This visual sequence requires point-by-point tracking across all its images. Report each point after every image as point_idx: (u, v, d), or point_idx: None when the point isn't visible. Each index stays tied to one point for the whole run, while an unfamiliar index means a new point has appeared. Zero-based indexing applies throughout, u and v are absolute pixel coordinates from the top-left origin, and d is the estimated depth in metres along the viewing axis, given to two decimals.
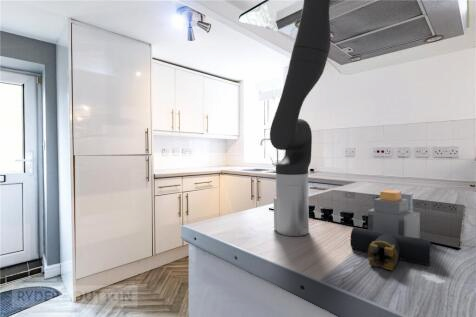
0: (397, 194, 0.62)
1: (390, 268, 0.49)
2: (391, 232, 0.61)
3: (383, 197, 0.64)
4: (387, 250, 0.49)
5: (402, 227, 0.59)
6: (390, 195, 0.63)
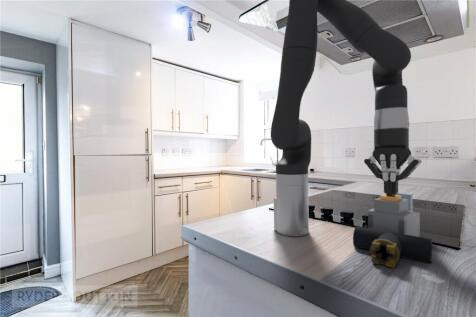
0: (397, 198, 0.62)
1: (392, 265, 0.50)
2: None
3: None
4: (389, 248, 0.50)
5: (402, 227, 0.59)
6: (390, 199, 0.63)
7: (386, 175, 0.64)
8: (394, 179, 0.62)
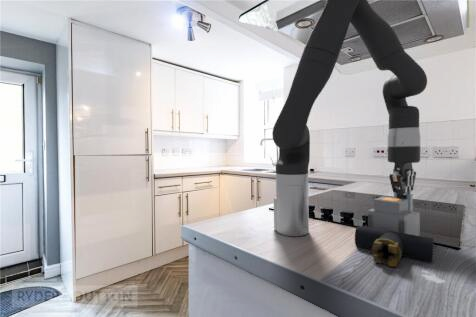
0: None
1: (394, 265, 0.51)
2: None
3: None
4: (390, 247, 0.51)
5: (402, 227, 0.59)
6: None
7: (406, 189, 0.68)
8: (410, 191, 0.70)
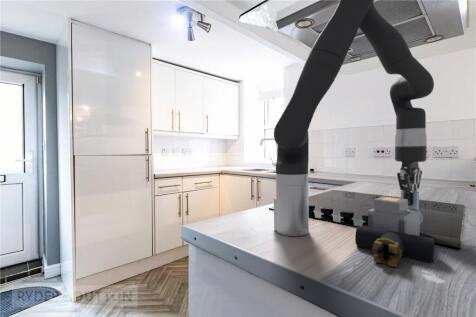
0: None
1: (394, 265, 0.51)
2: None
3: None
4: (391, 247, 0.51)
5: (402, 227, 0.59)
6: None
7: (413, 187, 0.71)
8: (416, 189, 0.73)
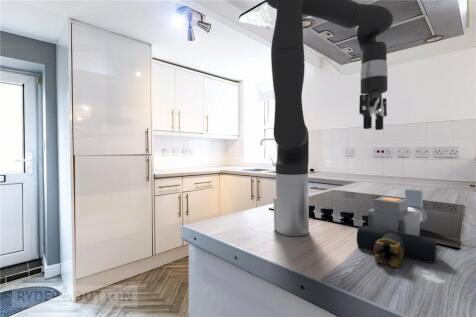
0: None
1: (395, 265, 0.50)
2: None
3: None
4: (392, 247, 0.51)
5: (402, 227, 0.59)
6: None
7: (371, 110, 0.76)
8: None
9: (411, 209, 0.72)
